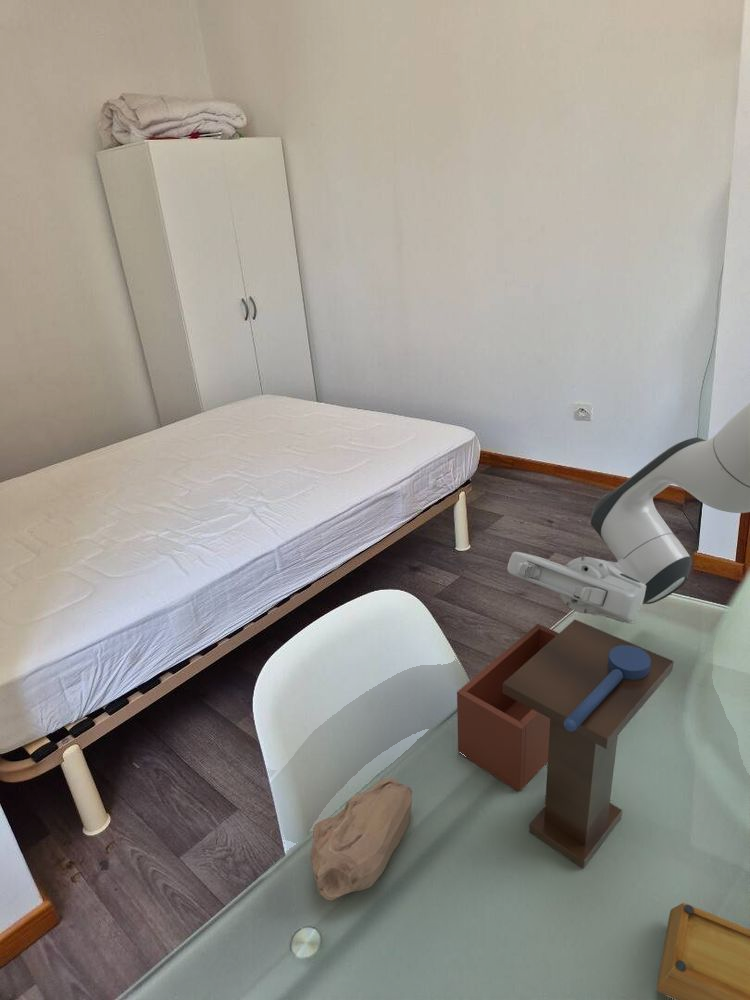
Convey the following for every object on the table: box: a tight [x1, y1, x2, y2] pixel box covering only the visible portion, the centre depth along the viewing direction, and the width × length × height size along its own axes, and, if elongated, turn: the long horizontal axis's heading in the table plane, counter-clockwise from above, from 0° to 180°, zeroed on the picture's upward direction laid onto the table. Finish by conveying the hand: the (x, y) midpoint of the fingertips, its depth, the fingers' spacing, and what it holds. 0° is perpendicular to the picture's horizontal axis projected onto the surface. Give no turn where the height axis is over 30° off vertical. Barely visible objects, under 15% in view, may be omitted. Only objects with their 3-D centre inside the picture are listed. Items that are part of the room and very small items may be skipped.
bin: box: [456, 623, 560, 793], centre depth 104 cm, size 21×11×12 cm, turn 135°
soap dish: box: [656, 902, 750, 1000], centre depth 72 cm, size 12×10×5 cm
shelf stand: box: [503, 619, 675, 870], centre depth 86 cm, size 16×13×26 cm
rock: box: [309, 777, 413, 901], centre depth 88 cm, size 18×10×10 cm
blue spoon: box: [564, 645, 651, 731], centre depth 77 cm, size 16×5×1 cm, turn 135°
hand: (549, 580), depth 98 cm, fingers open, 8 cm apart
